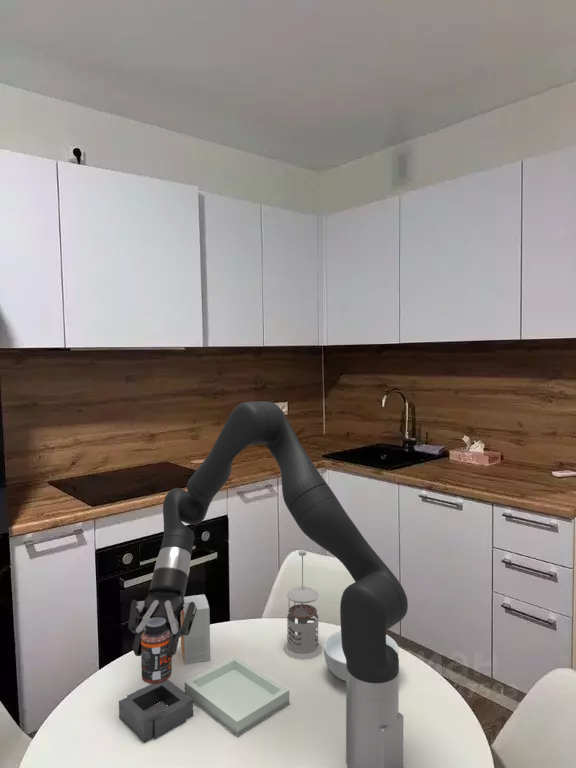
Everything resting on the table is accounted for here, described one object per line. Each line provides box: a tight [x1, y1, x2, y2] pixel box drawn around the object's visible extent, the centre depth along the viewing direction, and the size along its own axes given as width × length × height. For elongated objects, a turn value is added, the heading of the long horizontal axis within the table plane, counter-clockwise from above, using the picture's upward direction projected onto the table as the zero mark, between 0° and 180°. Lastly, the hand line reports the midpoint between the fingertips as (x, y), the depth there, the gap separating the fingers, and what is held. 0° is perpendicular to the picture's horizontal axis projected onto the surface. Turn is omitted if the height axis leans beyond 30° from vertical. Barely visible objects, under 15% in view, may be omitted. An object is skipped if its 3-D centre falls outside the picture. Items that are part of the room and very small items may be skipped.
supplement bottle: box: [140, 617, 173, 685], centre depth 106 cm, size 6×6×11 cm
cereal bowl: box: [323, 629, 399, 682], centre depth 121 cm, size 17×17×7 cm
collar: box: [118, 678, 194, 744], centre depth 107 cm, size 11×11×4 cm
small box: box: [180, 594, 211, 665], centre depth 130 cm, size 8×6×13 cm
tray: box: [183, 656, 290, 738], centre depth 112 cm, size 18×14×3 cm
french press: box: [282, 549, 323, 660], centre depth 133 cm, size 10×12×25 cm
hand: (153, 655), depth 105 cm, fingers closed on supplement bottle, 6 cm apart
